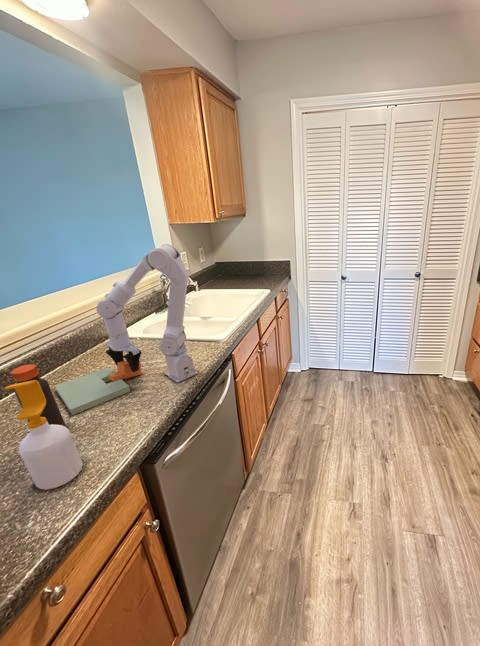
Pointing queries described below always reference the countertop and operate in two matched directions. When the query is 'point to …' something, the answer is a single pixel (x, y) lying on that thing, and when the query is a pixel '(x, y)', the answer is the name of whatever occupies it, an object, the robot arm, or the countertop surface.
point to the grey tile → (90, 390)
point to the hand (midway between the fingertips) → (128, 368)
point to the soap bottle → (45, 441)
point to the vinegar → (51, 408)
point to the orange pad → (124, 371)
